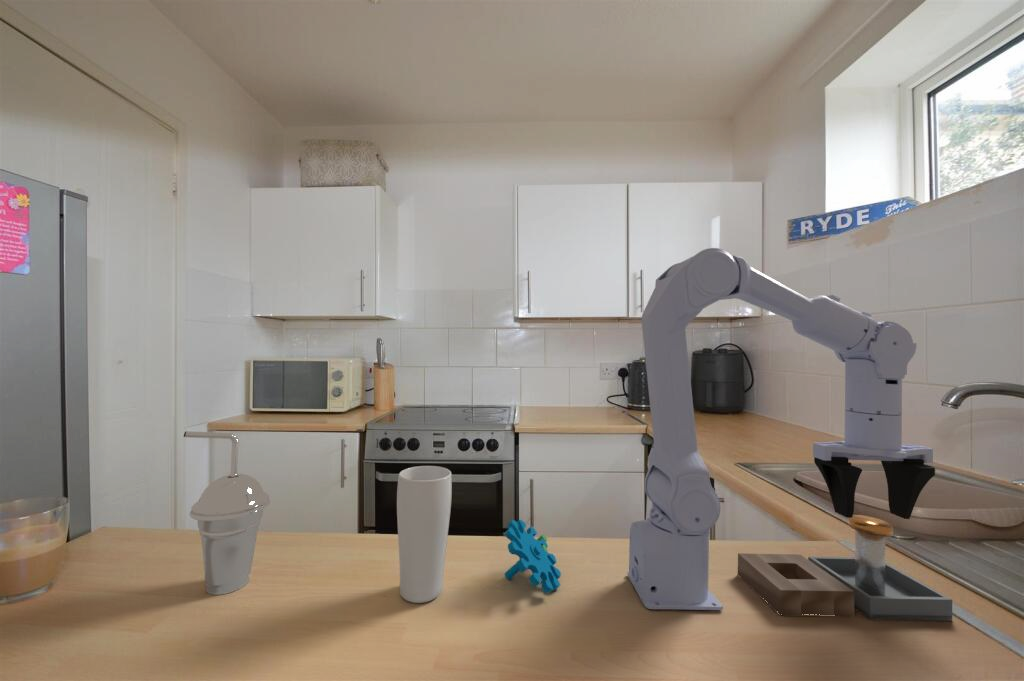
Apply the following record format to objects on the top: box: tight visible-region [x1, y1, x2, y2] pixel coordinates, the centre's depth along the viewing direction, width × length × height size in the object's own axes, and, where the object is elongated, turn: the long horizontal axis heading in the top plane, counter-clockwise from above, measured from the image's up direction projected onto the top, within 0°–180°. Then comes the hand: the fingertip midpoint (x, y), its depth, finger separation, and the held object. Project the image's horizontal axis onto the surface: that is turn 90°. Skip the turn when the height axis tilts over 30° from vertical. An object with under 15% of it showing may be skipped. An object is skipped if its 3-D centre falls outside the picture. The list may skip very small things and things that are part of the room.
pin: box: [848, 514, 894, 596], centre depth 54 cm, size 4×4×9 cm
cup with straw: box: [183, 430, 271, 596], centre depth 53 cm, size 8×9×20 cm
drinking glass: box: [396, 465, 453, 604], centre depth 52 cm, size 7×7×15 cm
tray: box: [807, 556, 953, 622], centre depth 54 cm, size 10×10×2 cm
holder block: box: [737, 553, 855, 618], centre depth 54 cm, size 9×9×3 cm
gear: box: [504, 519, 562, 594], centre depth 56 cm, size 11×6×10 cm
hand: (871, 515), depth 55 cm, fingers open, 7 cm apart
